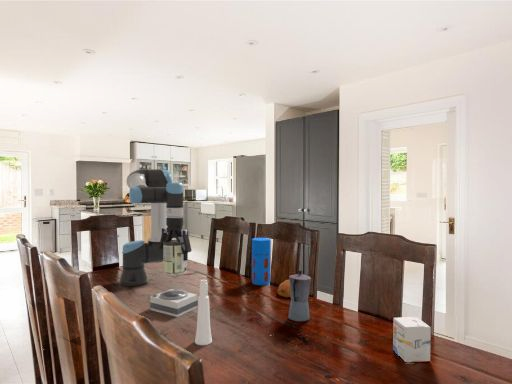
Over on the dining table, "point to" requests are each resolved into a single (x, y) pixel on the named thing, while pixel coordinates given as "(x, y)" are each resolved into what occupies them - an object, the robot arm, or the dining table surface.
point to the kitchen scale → (173, 302)
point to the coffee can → (172, 258)
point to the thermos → (261, 261)
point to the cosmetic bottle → (203, 316)
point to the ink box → (411, 339)
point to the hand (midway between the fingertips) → (174, 266)
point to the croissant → (284, 289)
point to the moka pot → (299, 297)
